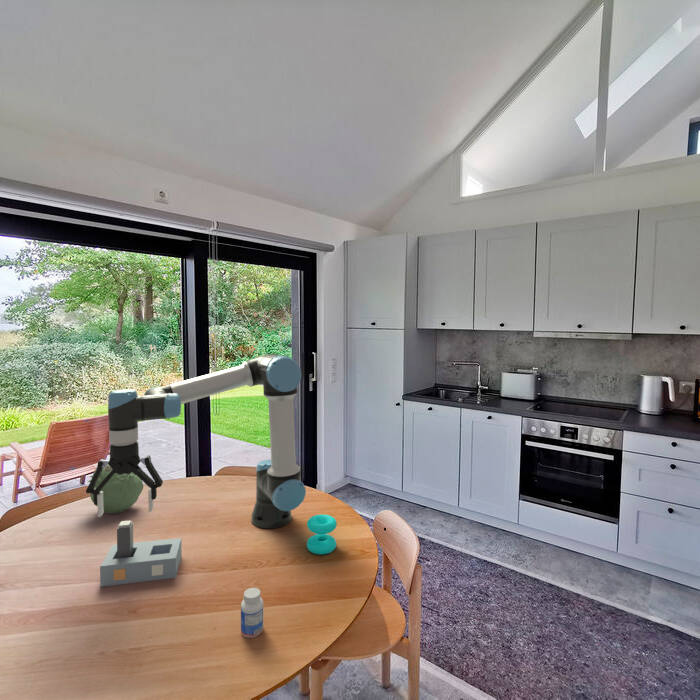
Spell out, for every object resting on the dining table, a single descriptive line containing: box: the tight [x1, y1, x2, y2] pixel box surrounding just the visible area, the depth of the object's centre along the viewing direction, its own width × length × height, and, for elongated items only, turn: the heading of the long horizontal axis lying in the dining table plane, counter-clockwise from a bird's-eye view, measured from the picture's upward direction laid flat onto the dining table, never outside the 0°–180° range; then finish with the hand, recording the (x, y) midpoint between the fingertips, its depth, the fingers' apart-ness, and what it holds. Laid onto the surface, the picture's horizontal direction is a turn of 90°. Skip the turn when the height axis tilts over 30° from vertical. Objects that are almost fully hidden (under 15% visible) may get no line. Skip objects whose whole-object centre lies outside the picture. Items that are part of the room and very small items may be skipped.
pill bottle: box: [240, 587, 264, 639], centre depth 103 cm, size 6×5×10 cm
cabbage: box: [87, 465, 144, 515], centre depth 166 cm, size 16×19×20 cm
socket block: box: [99, 537, 183, 588], centre depth 127 cm, size 20×12×6 cm, turn 104°
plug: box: [116, 520, 134, 559], centre depth 126 cm, size 4×4×14 cm
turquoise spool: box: [306, 513, 338, 555], centre depth 142 cm, size 10×10×10 cm
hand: (126, 512), depth 126 cm, fingers open, 13 cm apart
